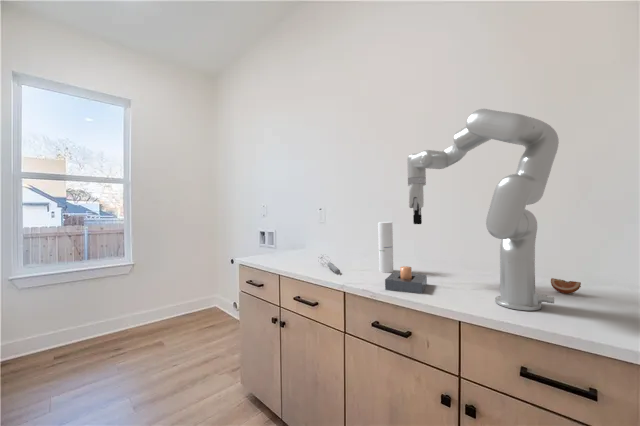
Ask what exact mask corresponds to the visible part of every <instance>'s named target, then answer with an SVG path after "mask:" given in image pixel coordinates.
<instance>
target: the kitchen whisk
mask: <svg viewBox="0 0 640 426" xmlns="http://www.w3.org/2000/svg"><path fill="white" fill-rule="evenodd" d="M325 257H327V259H328V260H327V259H326V258H325ZM320 260H321V261H320ZM324 260H326V262H325V261H324ZM323 262H324V264H323ZM319 263H320V264H321V265H324V266H326V267H328V268H329V270H331V271H333V272H334V274H336V275H341V270H340V269H339V267H337V266H335V264H333V262H332V261H331V259H330V257H329V256H328V255H326V256H325V255H324V254H323V255H322V254H321V256H318V264H319Z"/></svg>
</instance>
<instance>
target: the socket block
mask: <svg viewBox="0 0 640 426" xmlns="http://www.w3.org/2000/svg"><path fill="white" fill-rule="evenodd" d="M427 280H428V279H427V274H421V273H412V279H401V274H400V272H396V271H395V272H394V271H393V272H391V273H390V275H389V276H387V277H386V278H385V279H384V287H385V288H384V290H385V291H395V292H403V293H404V292H405V293H412V294H413V293H415V294H423V292H424V291H425V288H426V287H427V284H428V281H427Z"/></svg>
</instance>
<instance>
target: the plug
mask: <svg viewBox="0 0 640 426" xmlns="http://www.w3.org/2000/svg"><path fill="white" fill-rule="evenodd" d="M399 268H400V269H399V270H400V272H399V273H400V274H401V279H412V274H413V273H412V267H411V266H405V265H403V266H400V267H399Z"/></svg>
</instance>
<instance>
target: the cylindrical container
mask: <svg viewBox="0 0 640 426" xmlns="http://www.w3.org/2000/svg"><path fill="white" fill-rule="evenodd" d="M377 230H378V231H377V234H378V235H377V236H378V237H377V238H378V239H377V240H378V272H380V273H383V274H384V273H385V274H388V273H389V274H391V273H393V272H394V243H393V242H394V239H393V235H394V233H393V232H394V231H393V230H394V229H393V221H379V222H377Z"/></svg>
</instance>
